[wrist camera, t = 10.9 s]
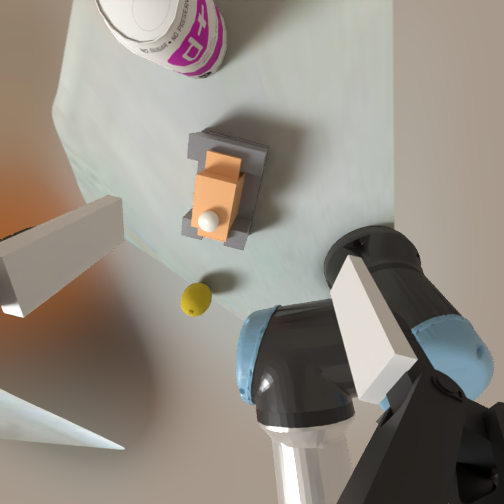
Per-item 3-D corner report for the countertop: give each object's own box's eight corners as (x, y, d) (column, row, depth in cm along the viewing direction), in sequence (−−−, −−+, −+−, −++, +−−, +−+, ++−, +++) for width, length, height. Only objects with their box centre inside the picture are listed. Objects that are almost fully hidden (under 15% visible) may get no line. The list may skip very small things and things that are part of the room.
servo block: (249, 153, 36) (238, 164, 27) (235, 226, 42) (222, 255, 33) (216, 145, 36) (194, 153, 27) (207, 219, 42) (186, 246, 33)
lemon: (188, 293, 51) (173, 320, 44) (191, 272, 49) (175, 297, 42) (213, 299, 51) (202, 328, 44) (217, 279, 49) (206, 306, 42)
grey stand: (268, 146, 36) (266, 151, 31) (248, 235, 43) (243, 251, 38) (203, 130, 36) (189, 131, 31) (193, 221, 43) (181, 236, 38)
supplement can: (241, 39, 30) (210, -22, 17) (200, 94, 34) (148, 79, 21) (192, -25, 28) (112, -149, 15) (153, 41, 31) (61, -13, 18)
